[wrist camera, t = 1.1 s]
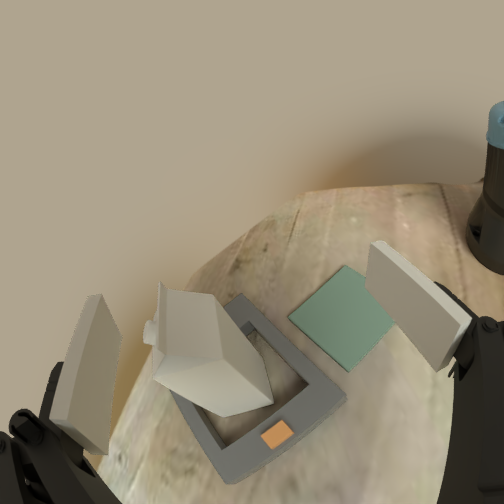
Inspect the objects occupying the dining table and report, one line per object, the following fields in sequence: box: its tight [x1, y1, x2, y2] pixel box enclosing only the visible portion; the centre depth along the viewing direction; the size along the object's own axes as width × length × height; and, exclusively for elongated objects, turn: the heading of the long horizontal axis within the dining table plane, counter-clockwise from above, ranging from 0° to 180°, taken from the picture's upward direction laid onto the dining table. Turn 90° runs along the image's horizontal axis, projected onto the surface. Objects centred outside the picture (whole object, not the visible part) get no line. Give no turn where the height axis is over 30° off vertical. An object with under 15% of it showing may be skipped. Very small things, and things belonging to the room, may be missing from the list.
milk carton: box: [143, 282, 274, 418], centre depth 28 cm, size 7×7×19 cm
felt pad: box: [288, 265, 395, 372], centre depth 36 cm, size 12×12×1 cm
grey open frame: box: [169, 293, 347, 484], centre depth 32 cm, size 17×22×7 cm
